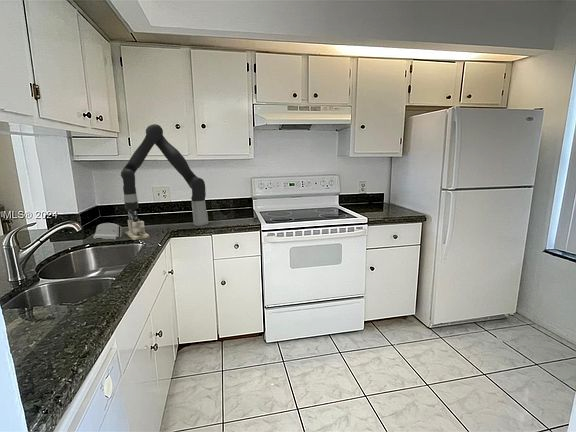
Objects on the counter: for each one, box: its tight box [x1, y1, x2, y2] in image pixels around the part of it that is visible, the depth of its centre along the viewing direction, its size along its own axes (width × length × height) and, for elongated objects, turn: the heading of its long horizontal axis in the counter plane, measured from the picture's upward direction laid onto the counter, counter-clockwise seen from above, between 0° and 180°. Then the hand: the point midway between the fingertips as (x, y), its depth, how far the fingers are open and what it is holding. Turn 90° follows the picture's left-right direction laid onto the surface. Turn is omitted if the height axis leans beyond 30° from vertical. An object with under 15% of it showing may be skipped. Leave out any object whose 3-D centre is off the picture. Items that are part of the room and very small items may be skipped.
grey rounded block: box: [92, 222, 123, 240], centre depth 195 cm, size 17×5×10 cm, turn 77°
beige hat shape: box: [124, 220, 150, 241], centre depth 197 cm, size 9×20×10 cm, turn 39°
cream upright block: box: [127, 218, 140, 233], centre depth 200 cm, size 6×4×8 cm, turn 129°
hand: (134, 226), depth 200 cm, fingers open, 8 cm apart
